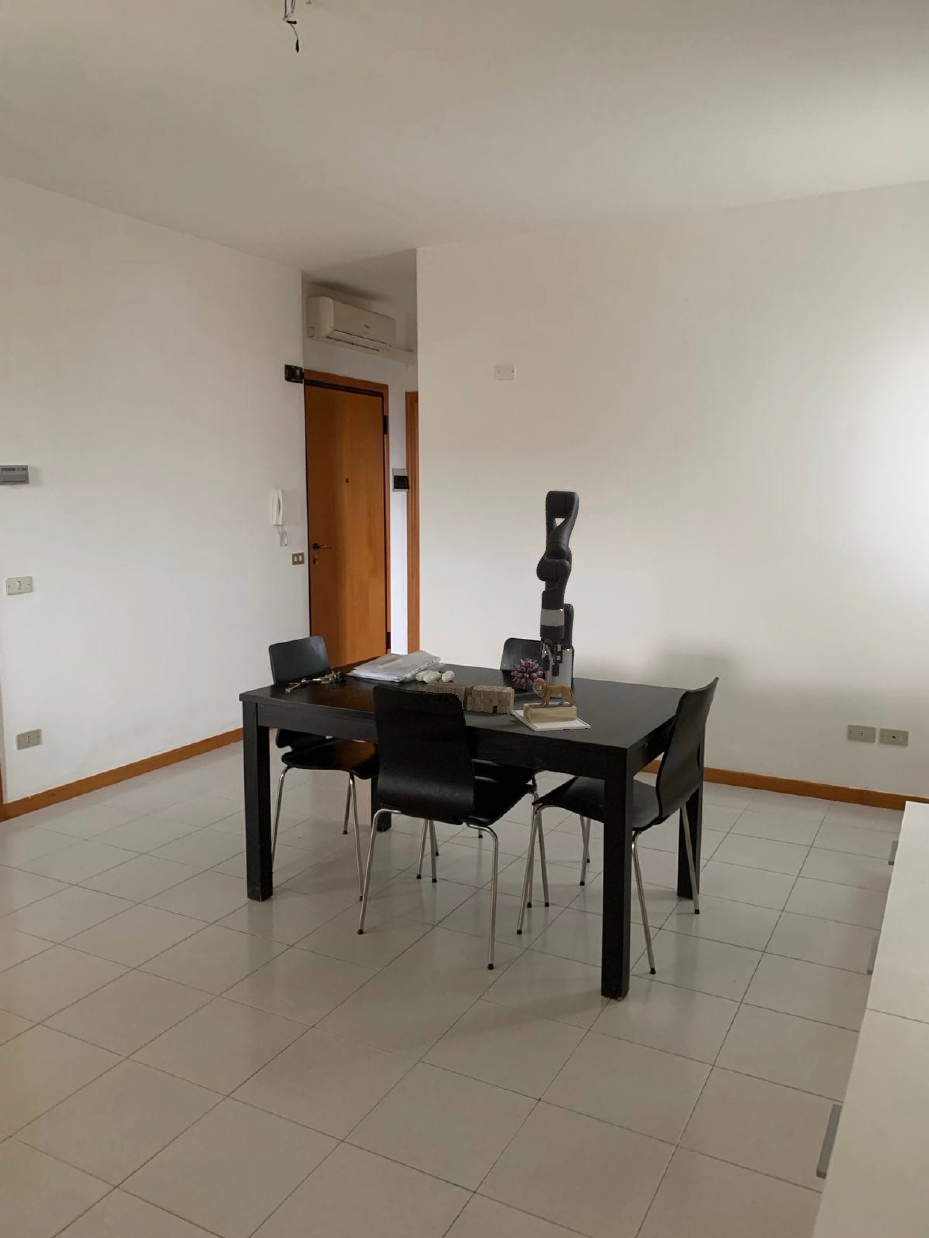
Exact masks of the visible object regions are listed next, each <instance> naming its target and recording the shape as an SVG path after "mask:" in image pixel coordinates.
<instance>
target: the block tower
mask: <svg viewBox="0 0 929 1238" xmlns="http://www.w3.org/2000/svg"><path fill="white" fill-rule="evenodd" d="M428 692H433V693H452V694H455V695H458V696H459V698H460V700H461V702H462V706H463V708H464V709H466V708H467V709H466V711H470V710H474V711H473V712H480V711H484V712H483V713H491V712H492V713H494V712H495V711H496V713H497V712H500V713H499V714H503V713H507V714H506V715H510V714H512V713H511V711H514V701H515V689H514V688H512V686H511V687H509V686H507V687H506V686H498V685H485V684H483V685H481V684H477V685H476V686H475V684H473V683H461V682H446V681H445V682H444V681H437V680H432V681H431V682H429V683H427V684H426V685H425V693H428ZM496 708H497V709H496ZM464 709H463V710H464ZM495 709H496V710H495ZM494 710H495V711H494ZM493 711H494V712H493Z"/></svg>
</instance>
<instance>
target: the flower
mask: <svg viewBox="0 0 929 1238" xmlns="http://www.w3.org/2000/svg"><path fill="white" fill-rule="evenodd" d="M537 662H538V661H537V660H536V659H535V660H534V661H532V659H531V658H528V657H526V659H525V661H524V660H523V659H519V665H518V664H513V665H512V666H513V668H514V669H515V671H511V676H512V677H513V676H514V678H513V679H512V682H515V686H516V685H517V688H519V687H522V689H523V690H525V691H528V690H529V687H530V688H531V689H533V683H534V681H535V680H536V679H538V678H540V677H541V678H542V677H543V676H544V675H543V673H544V672H543V669H542V668H543V666H541V667H540V666H539V663H537ZM533 690H534V689H533Z"/></svg>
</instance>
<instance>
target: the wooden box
mask: <svg viewBox="0 0 929 1238" xmlns="http://www.w3.org/2000/svg"><path fill="white" fill-rule="evenodd" d="M560 702H561V701H560ZM560 702H549V706H548V707H545V706H544V705H541V703H542V702H538V703H537V702H536V703H523V709H522V710H523V716H524V717H525V718H526V719H528V720H529V721H530V722H545V721H565V720H576V717H577V713H578V712H577V709H578V708H577V706H575V705H573V706H569V704H571V702H569V701H565V702H564V703H563V704H559V703H560ZM545 705H546V703H545Z"/></svg>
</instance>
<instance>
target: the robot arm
mask: <svg viewBox="0 0 929 1238" xmlns="http://www.w3.org/2000/svg"><path fill="white" fill-rule="evenodd" d="M544 503H545V505H544V507H545V511H544V512H545V532H546V533H545V550H544V553H543V555H542V556H541V558H540V559H539V561H538V563H537V565H536V571H535V573H536V577H537V578H538V580H539V581H541V582H544V590H542V593H541V604H540V605H541V608H540V609H541V610H540V618H539V637H540V646H539V656H540V657H541V659H542V669H541V670H542V672H543V671H544V672H545V679H544V681H546V682H549V683H550V684H551V685H553V686H558V685H567V686H569V687H570V688H571V687H572V667H573V666H572V661H573V660H572V659H573V656H572V655H573V653H572V652H573V632H574V631H573V629H574V616H575V610H574V606H573V604H572V603H565V594H566V590H567V584H568V581H569V578H570V576H571V572H572V569H573V568H572V567H573V554H572V550H571V548H570V540H571V536H572V534H573V530H574V528H575V524H576V521H577V518H578V513H579V508H580V498H579V494H578V492H576V491H571V490H570V491H569V490H566V491H565V490H549V491H548V492H547V494H546V495H545V502H544ZM556 519H558V520H560V519H561V520H563V521H561V522H560V523H559V524H557V520H556ZM571 689H572V688H571ZM569 692H570V691H569ZM570 696H571V694H570ZM556 698H562V696H561V695H559V696H557V697H556Z"/></svg>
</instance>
